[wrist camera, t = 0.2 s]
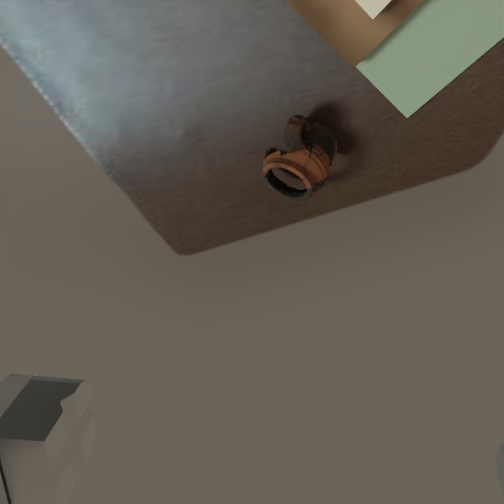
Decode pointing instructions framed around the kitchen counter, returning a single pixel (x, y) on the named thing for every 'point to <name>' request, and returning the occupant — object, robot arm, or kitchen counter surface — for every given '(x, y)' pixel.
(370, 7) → the cream rectangular block
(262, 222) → the kitchen counter surface
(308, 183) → the pottery mug
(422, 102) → the mat
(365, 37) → the board
